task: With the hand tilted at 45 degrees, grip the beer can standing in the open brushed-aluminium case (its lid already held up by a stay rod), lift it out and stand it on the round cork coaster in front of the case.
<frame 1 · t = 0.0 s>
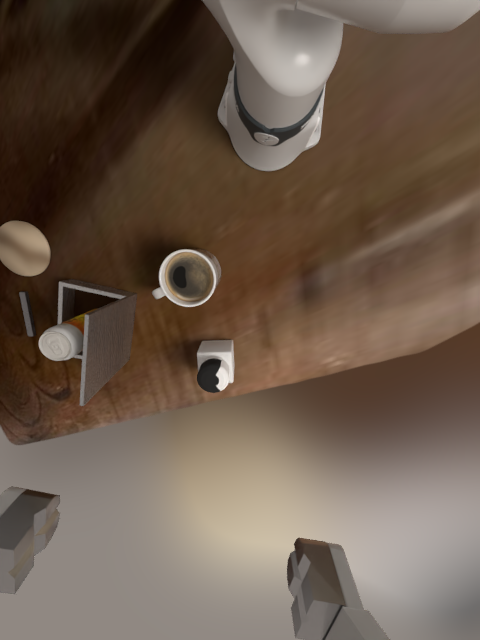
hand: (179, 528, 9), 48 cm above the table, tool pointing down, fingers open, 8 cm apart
beer can: (102, 320, 57), resting in case
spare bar: (30, 313, 57), on the table
pad: (24, 249, 53), on the table
medicine bottle: (218, 353, 59), on the table
mug: (192, 273, 54), on the table
case: (102, 321, 57), on the table
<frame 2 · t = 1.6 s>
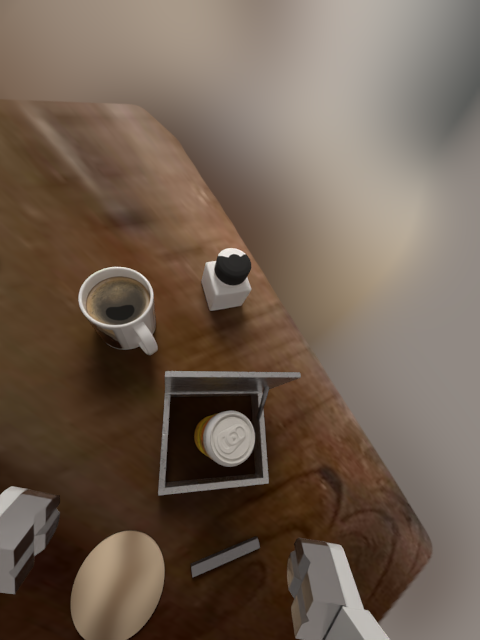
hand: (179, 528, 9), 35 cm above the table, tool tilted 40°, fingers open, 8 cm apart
beer can: (211, 434, 43), resting in case
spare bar: (225, 553, 37), on the table
pad: (120, 583, 33), on the table
medicine bottle: (221, 294, 54), on the table
mug: (129, 330, 46), on the table
case: (212, 434, 43), on the table
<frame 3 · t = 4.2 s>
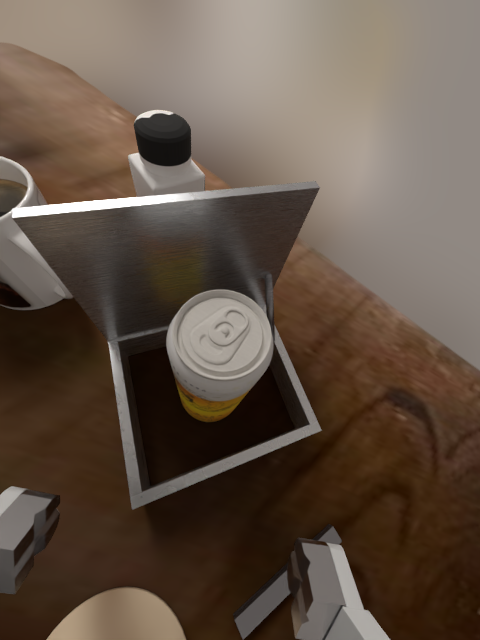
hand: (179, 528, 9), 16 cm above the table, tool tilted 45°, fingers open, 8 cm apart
beer can: (209, 392, 27), resting in case
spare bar: (287, 571, 21), on the table
medicine bottle: (171, 213, 38), on the table
mug: (42, 282, 30), on the table
case: (210, 391, 27), on the table
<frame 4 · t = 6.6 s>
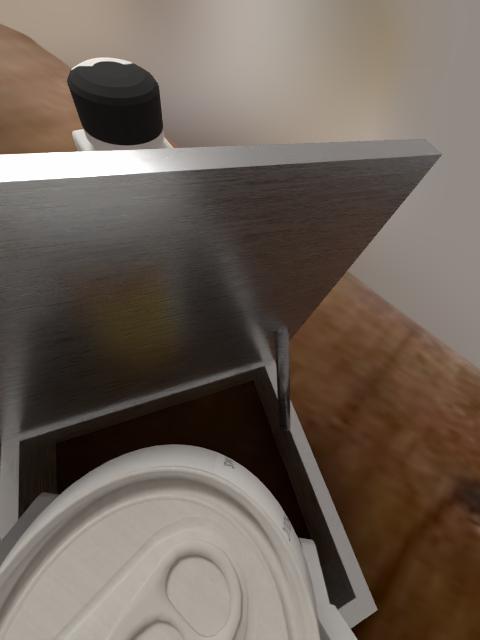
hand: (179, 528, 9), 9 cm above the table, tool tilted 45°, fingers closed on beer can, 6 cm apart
beer can: (185, 503, 17), resting in case, touching gripper
medicine bottle: (143, 215, 28), on the table
case: (185, 503, 17), on the table
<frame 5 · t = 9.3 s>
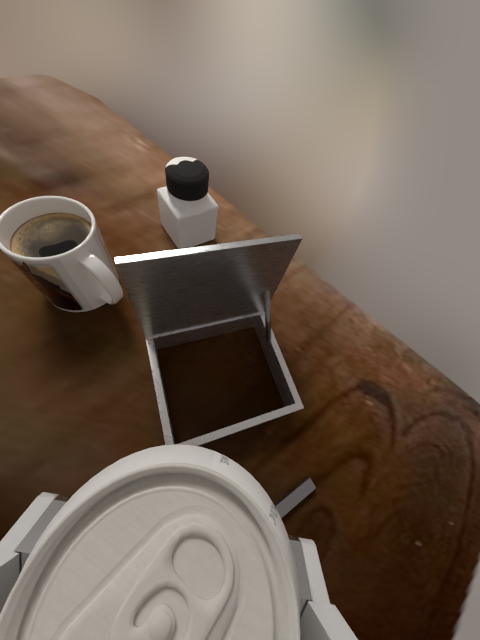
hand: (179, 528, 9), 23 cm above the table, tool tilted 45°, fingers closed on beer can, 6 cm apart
beer can: (186, 498, 18), point 12 cm above the table, touching gripper
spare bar: (276, 509, 29), on the table
medicine bottle: (188, 232, 46), on the table
mug: (87, 290, 37), on the table
case: (220, 378, 34), on the table
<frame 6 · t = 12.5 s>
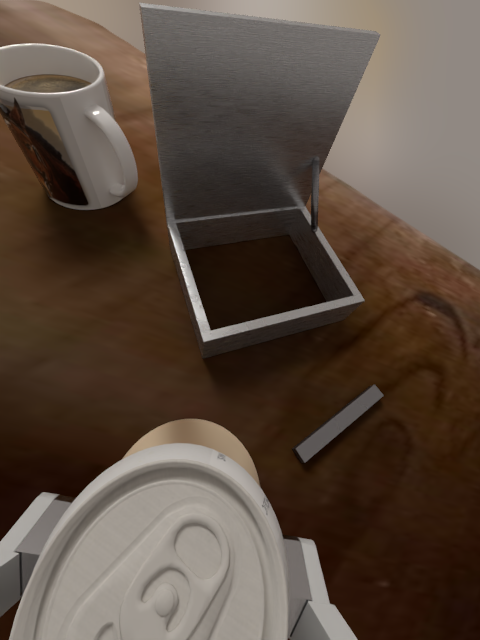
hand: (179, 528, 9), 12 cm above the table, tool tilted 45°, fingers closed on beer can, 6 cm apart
beer can: (186, 498, 18), resting on pad, touching gripper
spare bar: (336, 421, 23), on the table
pad: (185, 500, 18), on the table
mug: (94, 190, 32), on the table
case: (255, 282, 29), on the table
when the fingers open (12 cm above the table, at t = 12.5 s): beer can stays where it is, resting on pad.
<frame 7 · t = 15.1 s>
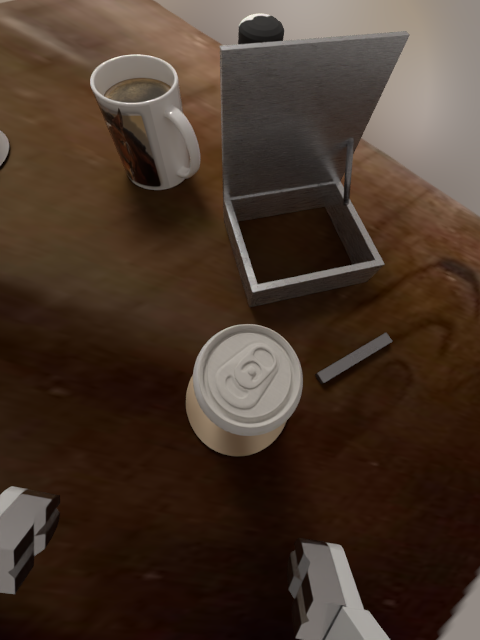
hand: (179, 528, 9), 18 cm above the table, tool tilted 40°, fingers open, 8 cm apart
beer can: (238, 396, 27), resting on pad
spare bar: (351, 359, 30), on the table
pad: (238, 398, 27), on the table
medicine bottle: (253, 122, 44), on the table
mug: (162, 172, 39), on the table
case: (292, 249, 35), on the table
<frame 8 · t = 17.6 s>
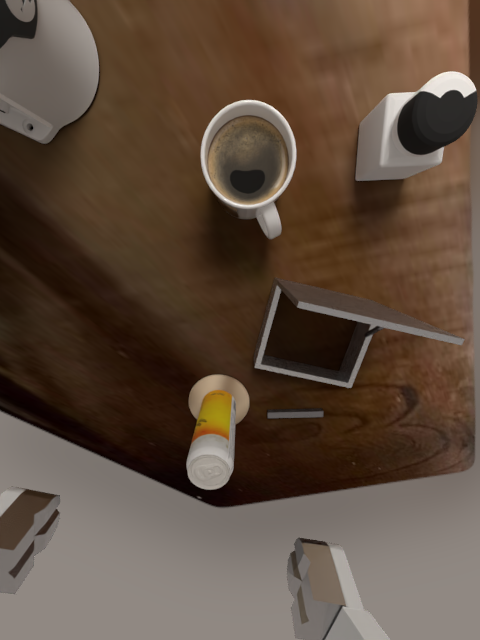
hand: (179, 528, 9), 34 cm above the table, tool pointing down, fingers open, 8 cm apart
beer can: (219, 401, 46), resting on pad
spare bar: (294, 410, 47), on the table
pad: (219, 401, 46), on the table
medicine bottle: (381, 152, 35), on the table
mug: (247, 191, 37), on the table
case: (310, 329, 42), on the table
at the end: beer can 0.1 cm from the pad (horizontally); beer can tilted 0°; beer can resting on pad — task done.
